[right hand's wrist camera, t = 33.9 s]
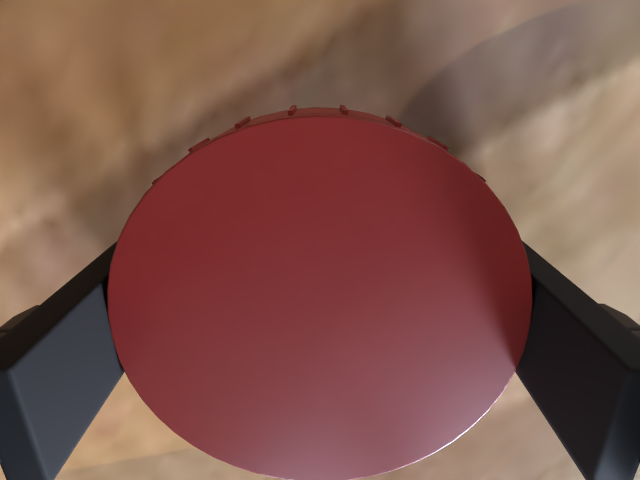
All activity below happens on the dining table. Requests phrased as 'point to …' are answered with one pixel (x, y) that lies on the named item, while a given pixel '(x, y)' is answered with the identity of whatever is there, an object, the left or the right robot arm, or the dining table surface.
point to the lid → (319, 296)
